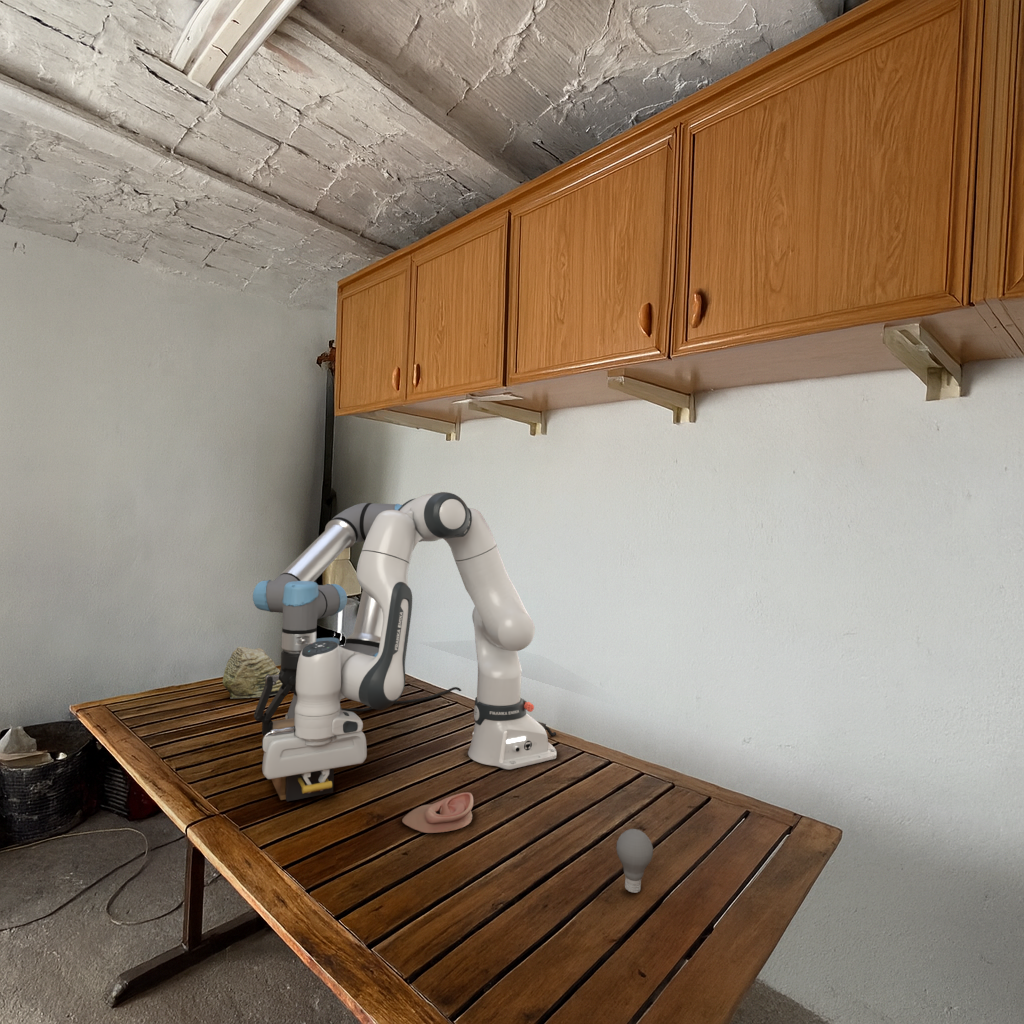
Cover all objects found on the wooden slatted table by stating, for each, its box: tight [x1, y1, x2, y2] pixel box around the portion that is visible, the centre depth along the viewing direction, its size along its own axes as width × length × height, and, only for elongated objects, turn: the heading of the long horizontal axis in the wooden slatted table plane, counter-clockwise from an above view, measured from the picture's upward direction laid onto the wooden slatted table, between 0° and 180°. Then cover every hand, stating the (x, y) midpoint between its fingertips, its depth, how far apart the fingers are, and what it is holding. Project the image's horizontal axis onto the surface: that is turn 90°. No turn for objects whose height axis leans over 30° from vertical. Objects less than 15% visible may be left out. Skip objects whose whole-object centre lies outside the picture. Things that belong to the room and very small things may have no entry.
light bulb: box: [615, 828, 654, 894], centre depth 106 cm, size 6×6×10 cm
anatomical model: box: [401, 791, 474, 834], centre depth 126 cm, size 13×4×12 cm
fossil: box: [222, 646, 282, 699], centre depth 198 cm, size 9×18×15 cm, turn 132°
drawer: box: [285, 768, 335, 803], centre depth 136 cm, size 21×9×9 cm, turn 31°
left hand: (295, 745), depth 145 cm, fingers closed on cabinet, 11 cm apart
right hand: (314, 791), depth 128 cm, fingers closed, pressing on drawer
